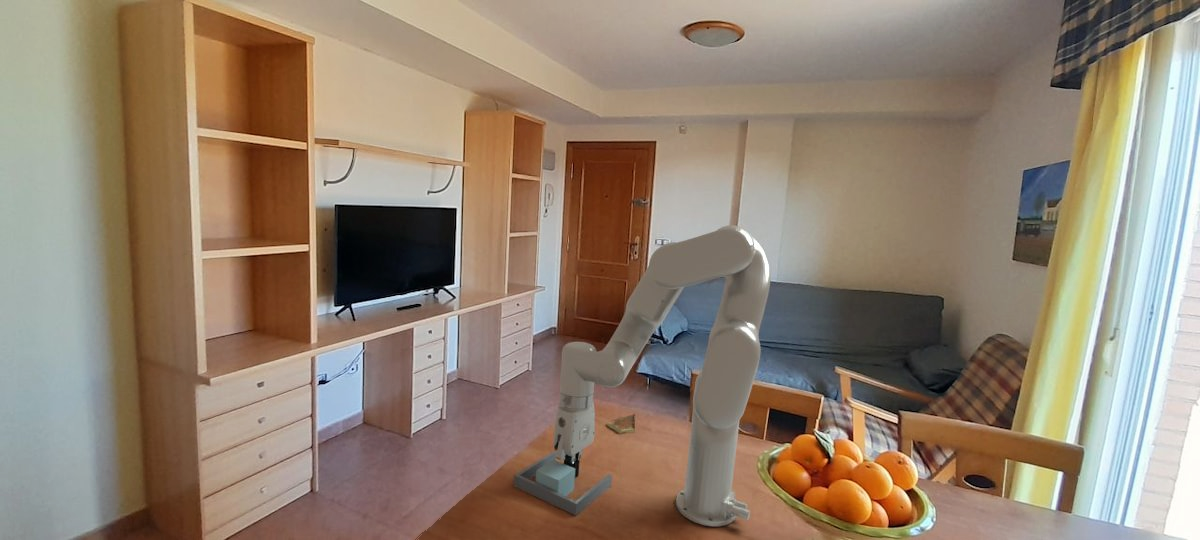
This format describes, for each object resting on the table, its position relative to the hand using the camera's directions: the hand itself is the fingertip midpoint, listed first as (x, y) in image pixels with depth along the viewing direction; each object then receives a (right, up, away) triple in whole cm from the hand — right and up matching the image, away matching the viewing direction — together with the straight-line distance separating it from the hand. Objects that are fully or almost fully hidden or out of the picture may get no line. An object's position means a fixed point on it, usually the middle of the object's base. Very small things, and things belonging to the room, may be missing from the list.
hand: (570, 475), depth 114 cm
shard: (+13, +1, +31) cm, 33 cm away
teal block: (-3, -2, -4) cm, 6 cm away
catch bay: (-1, -1, -2) cm, 3 cm away
